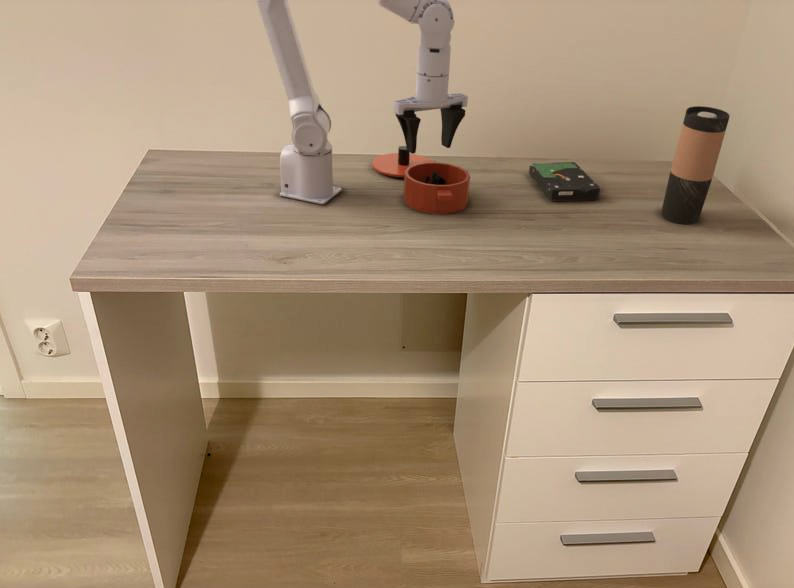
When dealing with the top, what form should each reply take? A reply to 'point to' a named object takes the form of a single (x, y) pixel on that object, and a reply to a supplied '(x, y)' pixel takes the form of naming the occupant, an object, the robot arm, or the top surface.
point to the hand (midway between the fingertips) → (428, 149)
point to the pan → (436, 188)
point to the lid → (397, 162)
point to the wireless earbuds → (435, 179)
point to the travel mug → (694, 163)
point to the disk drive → (564, 181)
